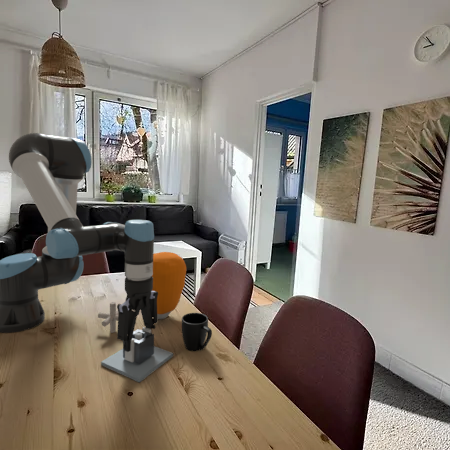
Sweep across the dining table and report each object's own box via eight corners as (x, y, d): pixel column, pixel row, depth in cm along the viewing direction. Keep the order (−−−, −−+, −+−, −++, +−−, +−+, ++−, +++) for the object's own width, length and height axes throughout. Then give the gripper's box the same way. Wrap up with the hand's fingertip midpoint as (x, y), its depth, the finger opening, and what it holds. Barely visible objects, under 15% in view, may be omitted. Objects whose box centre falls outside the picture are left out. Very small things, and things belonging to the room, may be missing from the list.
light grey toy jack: (118, 340, 97) (118, 311, 96) (90, 336, 99) (90, 307, 98) (133, 326, 107) (133, 299, 106) (108, 322, 109) (107, 296, 107)
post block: (101, 365, 84) (100, 338, 83) (137, 342, 97) (137, 318, 96) (139, 382, 78) (139, 353, 77) (173, 356, 90) (173, 330, 89)
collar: (123, 357, 86) (123, 337, 85) (138, 347, 91) (138, 328, 90) (139, 364, 83) (139, 343, 82) (153, 353, 88) (154, 334, 88)
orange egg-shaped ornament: (170, 305, 127) (172, 246, 123) (193, 320, 114) (195, 255, 110) (130, 315, 116) (131, 250, 112) (150, 333, 103) (152, 261, 99)
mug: (196, 363, 87) (197, 332, 86) (176, 344, 97) (176, 316, 95) (219, 354, 93) (220, 324, 91) (197, 337, 102) (198, 310, 100)
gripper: (122, 289, 74) (122, 376, 77) (171, 270, 90) (169, 343, 94) (101, 283, 77) (101, 367, 80) (151, 266, 94) (150, 336, 97)
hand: (138, 354), depth 87 cm, fingers closed on collar, 6 cm apart
